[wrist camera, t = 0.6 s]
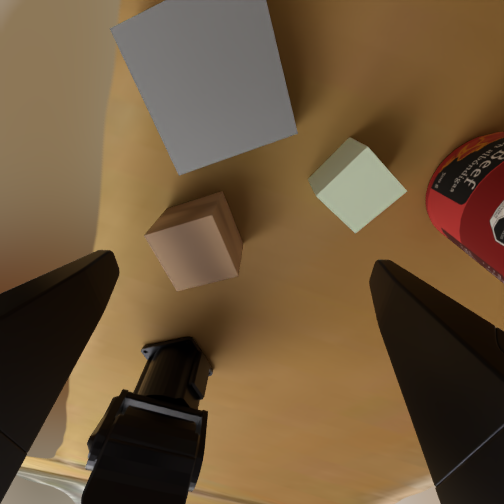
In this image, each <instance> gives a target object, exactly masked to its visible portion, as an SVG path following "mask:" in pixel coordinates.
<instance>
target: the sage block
mask: <svg viewBox="0 0 504 504" xmlns="http://www.w3.org/2000/svg"><path fill="white" fill-rule="evenodd" d="M308 181H309V183H310V185H311V187H312V189H313V191H314V193H315V195H316V197H317V198H319V199H320V200H321V201H322V202H323V203H324V204H325V205H326V206H327V207H328V208H329V209H330V210H331V211H332V212H333V213H334V214H335V215H336V216H338V217H339V218H340V219H341V220H342V221H343V222H344V223H345V224H346V225H347V226H348V227H349V228H350V229H351V230H352V231H353V232H354V233H357V232H358V231H359V230H360V229H362V228H363V227H364V226H365V225H366V224H368V223H369V222H370V221H371V220H373V219H374V218H375V217H376V216H378V215H379V214H380V213H381V212H382V211H384V210H385V209H386V208H387V207H389V206H390V205H391V204H392V203H393V202H395V201H396V200H397V199H398V198H400V197H401V196H402V195H403V194H404V193H406V192H407V190H406V189H405V188H404V187H403V186H402V185H401V184H400V183H399V181H398V180H397V179H396V178H395V177H394V176H393V175H392V173H391V172H390V171H389V170H388V169H387V168H386V167H385V166H384V164H383V163H382V162H381V161H380V160H379V159H378V158H377V157H376V155H375V154H374V153H373V152H372V151H371V150H370V149H369V147H368V146H366V145H364V144H362V143H360V142H358V141H356V140H354V139H352V138H350V137H349V138H348V139H347V140H346V141H345V142H344V143H343V144H342V145H341V146H340V147H339V148H338V149H337V150H336V151H335V152H334V153H333V154H332V155H331V156H330V157H329V158H328V159H327V160H326V161H325V162H324V163H323V164H322V165H321V166H320V167H319V168H318V169H317V170H316V171H315V172H314V173H313V174H312V175H311V176H310V177H309V178H308Z"/></svg>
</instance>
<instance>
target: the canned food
mask: <svg viewBox="0 0 504 504" xmlns="http://www.w3.org/2000/svg"><path fill="white" fill-rule="evenodd" d="M426 209H427V213H428V215H429V217H430V219H431V222H432V224H433V225H434V226H435V227H436V228H437V230H438V231H440V232H441V233H442V234H443V235H445V236H446V237H447V238H448V239H450V240H451V241H452V242H453V243H455V244H456V245H457V246H458V247H459V248H461V249H462V250H463V251H464V252H466V253H467V254H468V255H469V256H471V257H472V258H473V259H474V260H476V261H477V262H478V263H479V264H480V265H482V266H483V267H484V268H485V269H487V270H488V271H489V272H490V273H492V274H493V275H494V276H495V277H497V278H498V279H499V280H500V281H501V282H503V283H504V132H496V133H492V134H488V135H484V136H480V137H477V138H475V139H473V140H470V141H468V142H466V143H465V144H463V145H461V146H460V147H458V148H457V149H455V150H454V151H453V152H452V153H451V154H450V155H448V156H447V157H446V158H445V159H444V161H443V162H442V163H441V164H440V165H439V166H438V168H437V169H436V171H435V173H434V174H433V176H432V178H431V180H430V182H429V185H428V188H427V192H426Z"/></svg>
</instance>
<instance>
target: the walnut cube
mask: <svg viewBox="0 0 504 504" xmlns="http://www.w3.org/2000/svg"><path fill="white" fill-rule="evenodd" d="M144 236H145V238H146V240H147V242H148V243H149V245H150V247H151V248H152V250H153V252H154V253H155V255H156V257H157V258H158V260H159V262H160V264H161V265H162V267H163V269H164V270H165V272H166V274H167V275H168V277H169V279H170V280H171V282H172V284H173V286H174V287H175V289H176V291H181V290H185V289H189V288H193V287H197V286H201V285H205V284H209V283H213V282H217V281H221V280H225V279H229V278H233V277H237V276H239V269H240V262H241V255H242V249H243V242H242V239H241V237H240V234H239V232H238V229H237V226H236V224H235V221H234V219H233V216H232V214H231V211H230V209H229V206H228V204H227V201H226V199H225V196H224V193H223V191H221V192H218V193H215V194H211V195H208V196H205V197H202V198H199V199H196V200H192V201H189V202H186V203H183V204H180V205H177V206H174V207H170V208H167V209H166V210H165V211H164V213H163V214H162V215H161V216H160V217H159V219H158V220H157V221H156V222H155V223H154V224H153V226H152V227H151V228H150V229H149V230H148V231H147V233H146V234H145V235H144Z"/></svg>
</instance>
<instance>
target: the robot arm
mask: <svg viewBox="0 0 504 504" xmlns="http://www.w3.org/2000/svg"><path fill="white" fill-rule="evenodd" d="M118 277H119V267H118V264H117V261H116V259H115V256H114V253H113V252H112V251H110V250H98V251H96V252H93V253H91V254H89V255H87V256H84V257H82V258H80V259H78V260H76V261H73V262H71V263H69V264H66V265H64V266H62V267H60V268H57V269H55V270H53V271H51V272H48V273H46V274H44V275H42V276H39V277H37V278H35V279H33V280H30V281H28V282H26V283H24V284H21V285H19V286H17V287H15V288H12V289H10V290H8V291H6V292H3V293H1V294H0V503H1V501H2V500H3V498H4V496H5V494H6V492H7V490H8V489H9V487H10V485H11V483H12V481H13V479H14V478H15V476H16V474H17V472H18V470H19V468H20V467H21V465H22V463H23V461H24V459H25V457H26V455H27V452H28V451H29V450H30V448H31V446H32V444H33V442H34V440H35V438H36V437H37V435H38V433H39V431H40V429H41V427H42V426H43V424H44V422H45V420H46V418H47V416H48V414H49V413H50V411H51V409H52V407H53V405H54V403H55V402H56V400H57V398H58V396H59V394H60V392H61V391H62V389H63V387H64V385H65V383H66V381H67V380H68V378H69V376H70V374H71V372H72V370H73V368H74V367H75V365H76V363H77V361H78V359H79V357H80V356H81V354H82V352H83V350H84V348H85V346H86V344H87V343H88V341H89V339H90V337H91V335H92V333H93V332H94V330H95V328H96V326H97V324H98V322H99V321H100V319H101V317H102V315H103V313H104V311H105V308H106V306H107V304H108V301H109V299H110V296H111V294H112V291H113V289H114V287H115V284H116V282H117V279H118ZM369 284H370V290H371V294H372V299H373V304H374V308H375V313H376V317H377V321H378V325H379V329H380V332H381V335H382V337H383V340H384V343H385V346H386V349H387V352H388V354H389V357H390V360H391V363H392V366H393V369H394V372H395V374H396V377H397V380H398V383H399V386H400V389H401V391H402V394H403V397H404V400H405V403H406V406H407V409H408V411H409V414H410V417H411V420H412V423H413V426H414V428H415V431H416V434H417V437H418V440H419V443H420V445H421V448H422V451H423V454H424V457H425V460H426V463H427V465H428V468H429V471H430V474H431V477H432V480H433V482H434V485H435V486H436V492H437V494H438V497H439V500H440V503H441V504H504V331H502V330H501V329H499V328H495V326H494V325H493V324H491V323H490V322H488V321H486V320H485V319H483V318H482V317H480V316H478V315H477V314H475V313H474V312H472V311H470V310H469V309H467V308H466V307H464V306H462V305H461V304H459V303H458V302H456V301H455V300H453V299H451V298H450V297H448V296H447V295H445V294H443V293H442V292H440V291H439V290H437V289H435V288H434V287H432V286H431V285H429V284H427V283H426V282H424V281H423V280H421V279H419V278H418V277H416V276H415V275H413V274H412V273H410V272H408V271H407V270H405V269H404V268H402V267H400V266H399V265H397V264H396V263H394V262H392V261H391V260H377V261H376V262H375V264H374V267H373V270H372V273H371V277H370V281H369ZM141 352H142V353H143V355H144V356H145V357H146V359H147V360H148V361H147V363H146V365H145V367H144V370H143V372H142V374H141V376H140V379H139V381H138V383H137V386H136V388H135V390H134V392H133V393H132V392H128V390H125V389H123V390H122V392H121V394H120V395H119V396H117V397H114V398H113V399H112V401H111V403H110V405H109V407H108V409H107V411H106V413H105V415H104V416H103V418H102V419H101V421H100V422H99V424H98V425H97V427H96V428H95V430H94V431H93V433H92V434H91V436H90V438H89V440H88V442H87V446H88V449H89V454H88V458H89V459H88V461H87V464H86V470H91V471H92V472H91V475H90V477H89V479H88V482H87V484H86V486H85V489H84V491H83V494H82V499H81V504H185V503H186V499H187V495H188V491H191V492H192V491H193V490H194V488H195V485H196V483H197V480H198V477H199V473H200V470H201V466H202V461H203V456H204V449H205V439H206V428H207V417H208V411H205V410H202V411H201V410H198V406H199V401H200V400H201V399H203V398H204V395H205V390H206V385H207V380H208V376H211V375H212V373H213V369H212V368H211V366H210V364H209V362H208V361H207V359H206V357H205V356H204V354H203V353H202V352H201V350H200V348H199V347H198V345H197V344H196V342H195V340H194V339H193V338H192V337H186V338H181V339H176V340H171V341H167V342H162V343H157V344H152V345H147V346H144V347H143V348H142V350H141Z"/></svg>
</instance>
